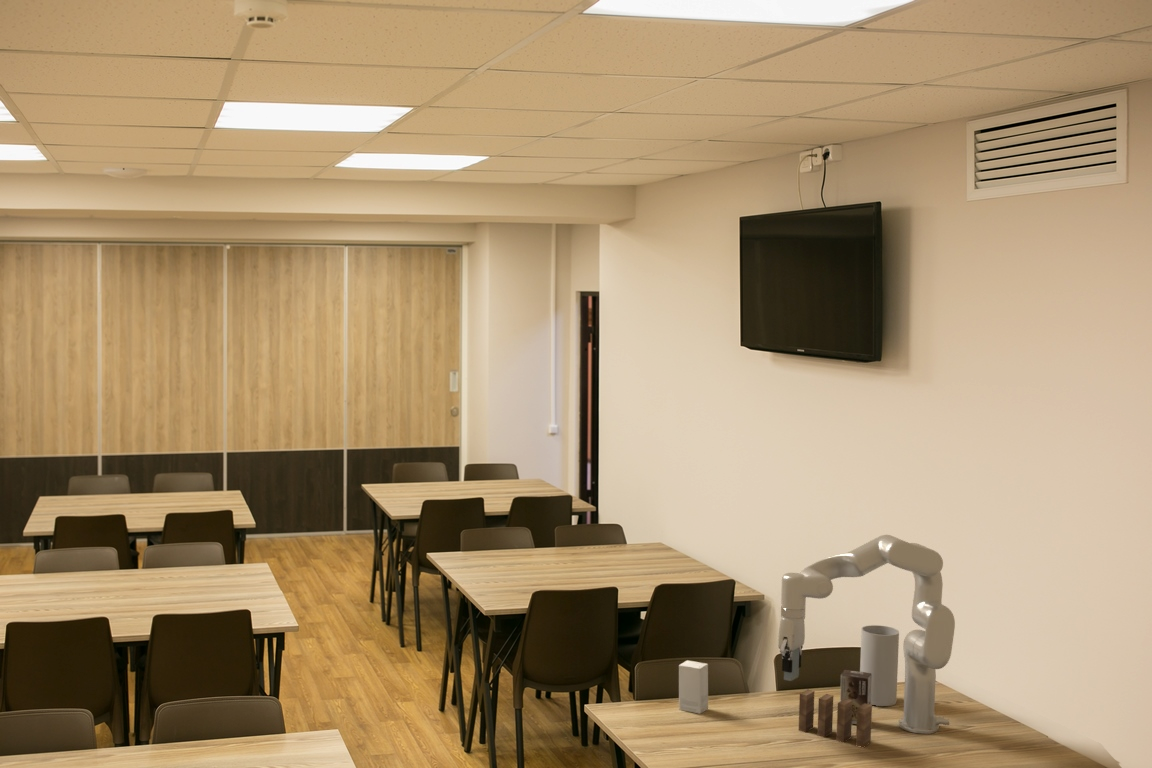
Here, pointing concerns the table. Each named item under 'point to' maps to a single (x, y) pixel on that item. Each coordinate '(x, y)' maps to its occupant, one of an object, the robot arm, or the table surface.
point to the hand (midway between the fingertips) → (791, 668)
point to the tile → (793, 666)
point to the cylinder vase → (880, 662)
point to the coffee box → (856, 689)
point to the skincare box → (693, 687)
